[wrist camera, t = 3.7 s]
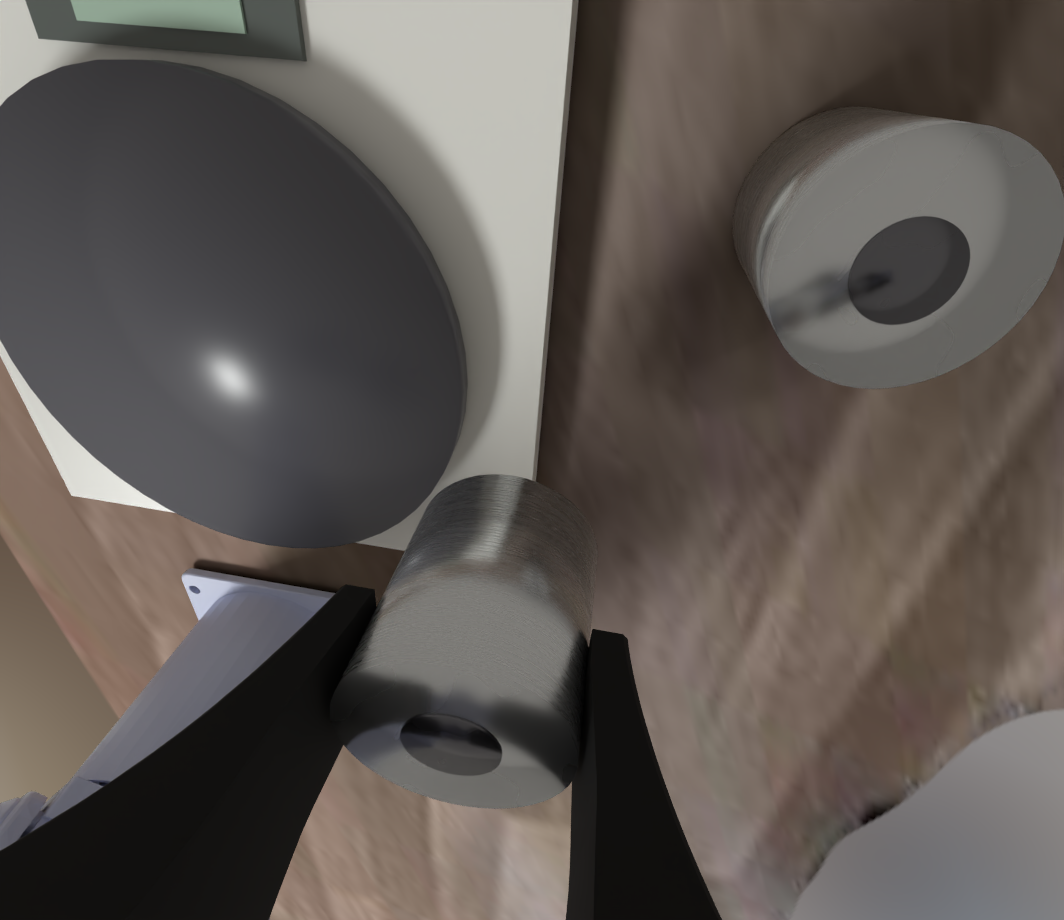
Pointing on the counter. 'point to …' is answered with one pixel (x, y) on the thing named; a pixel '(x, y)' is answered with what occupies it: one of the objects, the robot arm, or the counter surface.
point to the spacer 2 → (896, 241)
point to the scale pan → (224, 303)
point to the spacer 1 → (478, 650)
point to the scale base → (379, 163)
